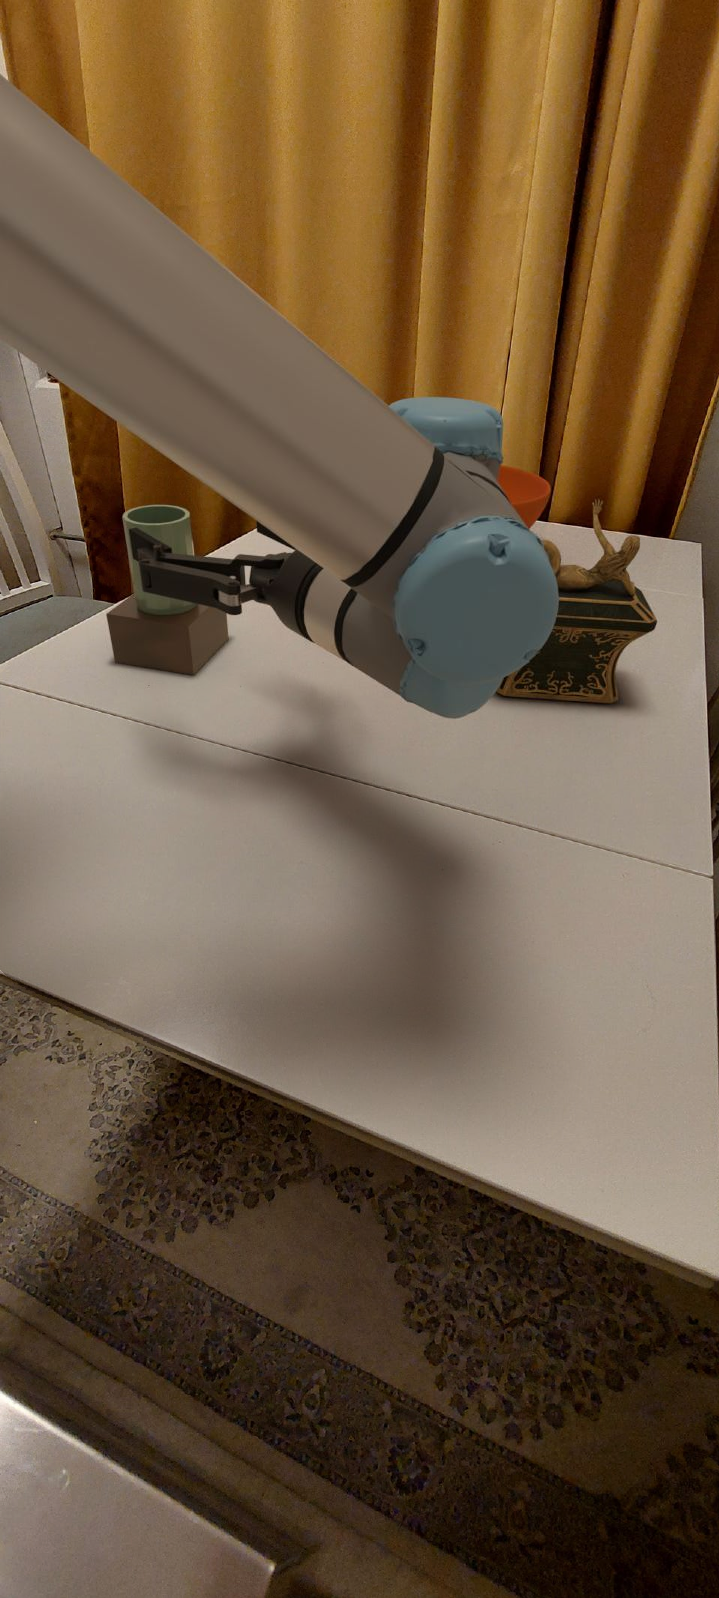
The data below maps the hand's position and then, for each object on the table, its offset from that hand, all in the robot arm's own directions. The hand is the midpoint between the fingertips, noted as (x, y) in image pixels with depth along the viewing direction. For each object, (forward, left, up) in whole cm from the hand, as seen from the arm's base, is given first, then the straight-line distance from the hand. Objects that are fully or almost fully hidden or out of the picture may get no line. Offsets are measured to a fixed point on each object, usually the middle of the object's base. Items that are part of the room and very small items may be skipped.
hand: (199, 529), depth 73 cm
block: (-9, +8, -18) cm, 21 cm away
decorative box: (+34, +14, -18) cm, 41 cm away
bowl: (+18, +58, -18) cm, 63 cm away
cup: (-9, +8, -12) cm, 17 cm away
